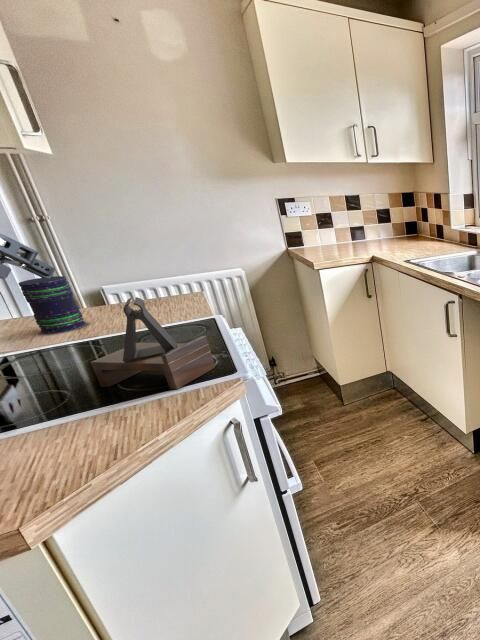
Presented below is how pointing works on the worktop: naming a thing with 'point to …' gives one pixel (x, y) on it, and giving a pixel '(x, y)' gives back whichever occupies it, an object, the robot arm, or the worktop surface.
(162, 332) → the phone stand
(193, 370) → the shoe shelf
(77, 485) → the worktop surface
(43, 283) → the blue green striped cylinder
